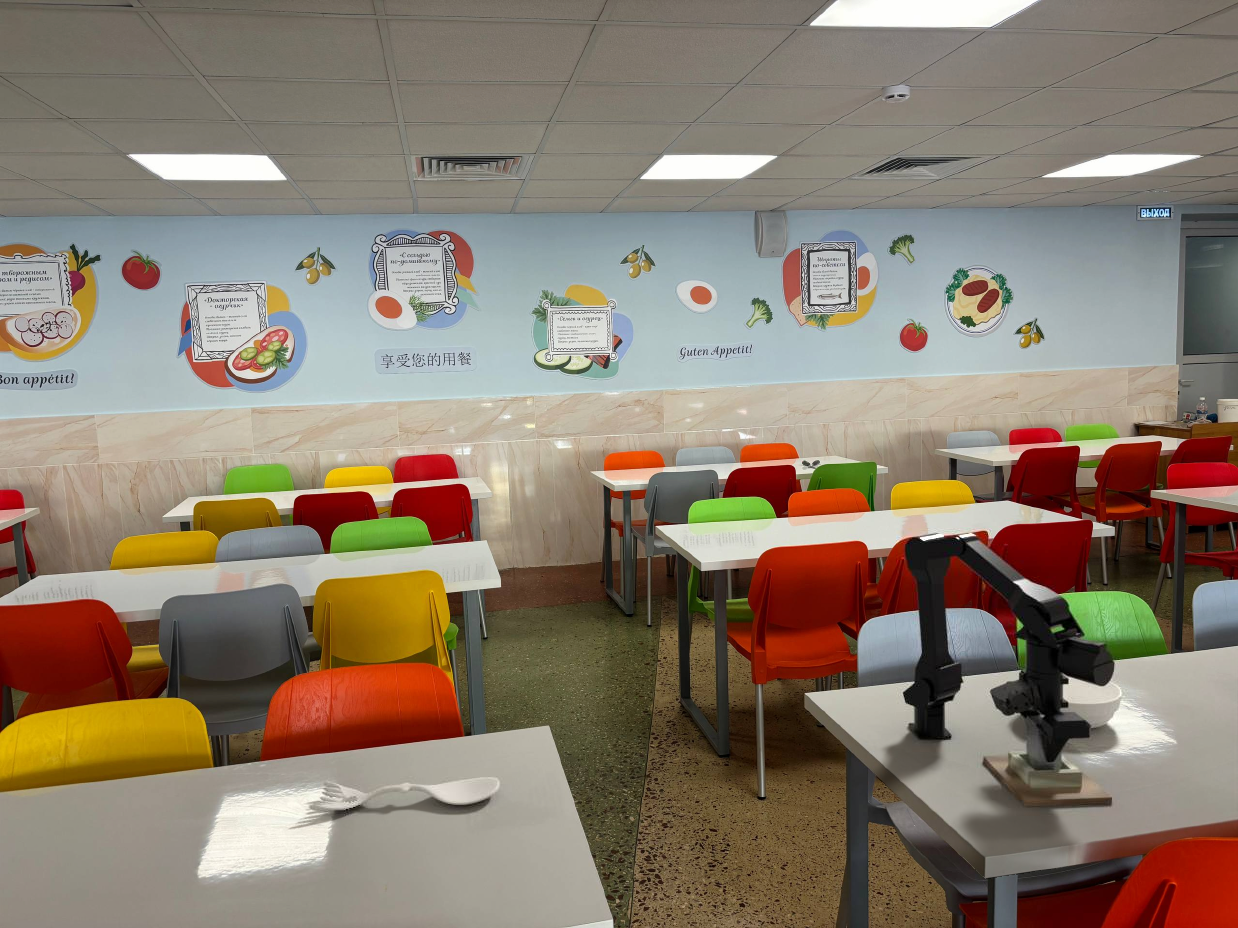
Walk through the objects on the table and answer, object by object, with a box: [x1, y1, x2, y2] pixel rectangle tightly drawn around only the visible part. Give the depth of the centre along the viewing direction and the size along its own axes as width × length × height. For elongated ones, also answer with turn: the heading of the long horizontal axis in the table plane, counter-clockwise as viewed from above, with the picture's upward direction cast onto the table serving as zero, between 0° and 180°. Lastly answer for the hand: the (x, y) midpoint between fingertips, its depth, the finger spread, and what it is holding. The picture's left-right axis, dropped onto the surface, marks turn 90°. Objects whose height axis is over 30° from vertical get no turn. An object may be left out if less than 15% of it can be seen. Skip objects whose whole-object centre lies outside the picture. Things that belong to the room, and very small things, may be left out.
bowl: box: [1060, 674, 1123, 729], centre depth 165 cm, size 18×18×7 cm
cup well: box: [982, 750, 1113, 808], centre depth 141 cm, size 16×14×4 cm
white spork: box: [308, 776, 501, 812], centre depth 145 cm, size 9×32×4 cm, turn 93°
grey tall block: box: [1025, 715, 1063, 771], centre depth 141 cm, size 4×4×9 cm
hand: (1043, 755), depth 141 cm, fingers closed on grey tall block, 4 cm apart
